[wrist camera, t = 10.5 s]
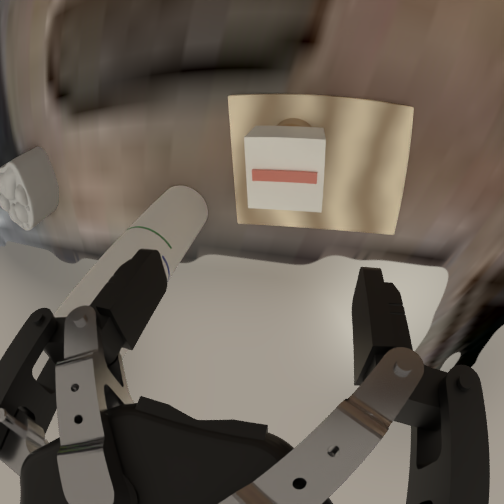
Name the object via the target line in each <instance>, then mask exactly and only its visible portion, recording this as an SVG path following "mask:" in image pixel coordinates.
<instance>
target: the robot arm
mask: <svg viewBox="0 0 504 504" xmlns="http://www.w3.org/2000/svg"><path fill="white" fill-rule="evenodd" d="M166 288H167V277H166V273H165V270H164V266H163V263H162V259H161V256H160V253H159V251H158V250H153V249H139V250H138V251H137V253H136V254H135V255H134V256H133V258H132V259H129V260H128V261H126V262H125V263H124V264H122V265H121V266H120V267H119V268H118V269H117V270H116V272H115V273H114V276H112V277H111V278H110V279H109V281H108V282H107V283H106V284H105V286H104V287H103V288H102V290H101V291H100V292H99V293H98V295H97V296H96V297H95V299H94V300H93V301H92V303H91V304H90V305H89V306H87V305H84V306H80V307H77V308H75V309H74V310H72V311H71V312H70V313H69V314H68V316H67V317H54V315H53V313H52V312H51V311H50V309H48V308H41V309H38V310H36V311H35V312H34V313H32V314H31V315H30V317H29V318H28V320H27V321H26V322H25V324H24V325H23V327H22V328H21V330H20V331H19V332H18V334H17V335H16V337H15V339H14V340H13V341H12V343H11V344H10V346H9V348H8V349H7V351H6V352H5V354H4V356H3V357H2V359H1V360H0V460H1V461H3V462H4V463H5V464H6V465H7V466H8V467H9V468H11V469H12V470H13V471H14V472H16V473H17V474H18V475H19V476H20V486H21V500H20V501H21V502H20V504H333V503H332V502H331V500H330V499H329V497H330V496H331V495H332V494H333V493H334V492H335V491H336V490H337V489H338V488H339V487H340V486H341V485H342V484H343V483H344V482H345V481H346V480H347V478H348V477H349V476H350V475H351V474H352V473H353V472H354V471H355V470H356V469H357V467H358V466H359V465H360V464H361V463H362V462H363V461H364V460H365V458H366V457H367V456H368V455H369V454H370V453H371V451H372V450H373V449H374V448H375V446H376V445H377V444H378V443H379V441H380V440H381V439H382V438H383V436H384V435H385V433H386V432H387V431H388V427H389V426H390V424H391V423H392V422H393V421H397V422H400V423H404V424H407V425H410V426H411V454H410V471H409V482H408V492H407V501H406V504H488V503H489V478H490V472H489V471H490V468H489V467H490V466H489V442H488V430H487V421H486V412H485V405H484V399H483V393H482V387H481V382H480V378H479V377H478V375H477V373H476V372H475V371H474V370H473V369H472V368H470V367H468V366H465V365H457V366H454V367H453V368H452V369H450V371H449V372H448V373H447V372H444V371H440V370H437V369H434V368H430V367H428V366H426V365H424V364H423V361H422V359H421V358H420V356H419V355H418V354H417V353H416V352H414V351H413V349H412V345H411V339H410V334H409V329H408V325H407V320H406V316H405V311H404V307H403V306H402V305H403V303H402V299H401V295H400V292H399V291H398V290H397V288H396V287H395V286H394V284H393V283H387V282H384V280H383V275H382V271H381V269H380V268H369V267H361V269H360V271H359V275H358V280H357V284H356V288H355V292H354V296H353V303H352V323H353V344H354V385H360V386H359V387H358V388H357V390H356V391H355V392H354V393H353V394H352V396H350V397H349V398H348V399H345V400H344V401H343V402H341V403H340V404H339V405H338V406H337V407H336V409H335V410H334V411H333V412H332V413H331V414H330V415H329V416H328V417H327V418H326V419H325V420H324V421H323V422H322V423H321V424H320V425H319V426H318V427H317V428H316V429H315V430H314V431H312V432H311V433H310V434H309V435H308V436H307V437H306V438H305V439H304V440H303V441H302V442H301V443H300V444H299V445H297V446H296V447H295V448H293V447H292V446H291V445H290V444H288V443H287V442H286V441H284V440H283V439H281V438H279V437H277V436H275V435H273V434H270V433H268V425H263V424H256V423H250V422H244V421H238V420H196V419H193V418H192V417H190V416H188V415H186V414H184V413H182V412H181V411H179V410H177V409H175V408H173V407H172V406H170V405H168V404H165V403H162V402H158V401H154V400H152V399H149V398H145V397H142V396H141V397H140V399H139V401H138V403H134V402H133V400H132V398H131V396H130V393H129V390H128V386H127V381H126V377H125V372H124V367H123V362H122V357H121V354H120V350H121V348H126V349H129V350H133V348H134V346H135V345H136V343H137V341H138V339H139V337H140V335H141V334H142V332H143V330H144V328H145V327H146V324H147V323H148V321H149V320H150V318H151V316H152V314H153V313H154V311H155V309H156V307H157V306H158V304H159V302H160V300H161V299H162V297H163V295H164V294H165V292H166ZM43 350H44V351H45V353H46V354H47V355H48V356H49V360H48V361H47V363H46V365H45V366H44V368H43V370H42V372H41V374H40V375H39V377H38V379H37V381H36V380H35V379H34V378H33V375H32V368H33V366H34V365H35V363H36V361H37V359H38V358H39V356H40V355H41V353H42V351H43ZM56 409H57V416H58V426H59V435H60V437H59V438H58V439H56V440H54V441H52V442H50V443H49V442H48V441H47V440H46V439H45V433H46V431H47V429H48V426H49V424H50V422H51V420H52V417H53V415H54V413H55V411H56Z"/></svg>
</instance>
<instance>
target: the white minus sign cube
mask: <svg viewBox="0 0 504 504" xmlns="http://www.w3.org/2000/svg"><path fill="white" fill-rule="evenodd" d="M325 147H326V138H325V133H324V128H318V127H299V126H255V127H254V128H253V129H252V130H251V131H250V132H249V133H248V134H247V135H246V136H245V137H244V148H245V164H246V181H247V198H248V208H255V209H274V210H291V211H306V212H320V213H322V200H323V186H324V168H325Z"/></svg>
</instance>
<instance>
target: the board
mask: <svg viewBox="0 0 504 504" xmlns="http://www.w3.org/2000/svg"><path fill="white" fill-rule="evenodd" d="M228 105H229V119H230V133H231V146H232V159H233V172H234V184H235V197H236V209H237V221H238V223H239V224H257V225H273V226H289V227H303V228H317V229H330V230H343V231H355V232H366V233H378V234H388V235H394V233H395V228H396V224H397V219H398V215H399V210H400V205H401V200H402V194H403V189H404V183H405V177H406V171H407V165H408V158H409V150H410V142H411V133H412V123H413V111H414V108H413V107H411V106H407V105H401V104H396V103H390V102H383V101H376V100H369V99H361V98H352V97H341V96H329V95H313V94H240V95H230V96H228ZM289 118H298V119H301V120H304V121H306V122H307V123H308V124H309V125H310V126H311V127H318V128H324V133H325V138H326V147H325V168H324V186H323V200H322V213H320V212H306V211H291V210H274V209H255V208H248V198H247V181H246V164H245V148H244V137H245V136H246V135H247V134H248V133H249V132H250V131H251V130H252V129H253V128H254V127H255V126H277V125H278V124H279V123H280V122H281V121H283V120H285V119H289Z"/></svg>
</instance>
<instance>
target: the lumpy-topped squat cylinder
mask: <svg viewBox="0 0 504 504" xmlns="http://www.w3.org/2000/svg"><path fill="white" fill-rule="evenodd" d="M0 194H1V195H0V206H1V207H2V208H3V209H4V210H5V211H7V212H8V213H9V215H10V217H11V219H12V220H13V221H14V222H15V223H17V224H18V225H19V226H20V227H22V228H23V229H25V230H31V229H32V228H33V227H35V226H36V225H37V224H38V223H40V222H41V221H42V220H43V219H44V218H46V217H47V216H48V215H49V214H51V213H52V212H53V211H54V210H56V208H57V206H58V202H59V188H58V183H57V179H56V176H55V173H54V170H53V167H52V165H51V162H50V160H49V157H48V155H47V153H46V152H45V151H44V149H43V148H41V147H39V146H38V147H35V148H33V149H31V150H30V151H28V152H26V153H24V154H22V155H20V156H18V157H17V158H15V159H13V160H12V161H10V162H8V163H7V164H5V165H3V166H2V167H0Z"/></svg>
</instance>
